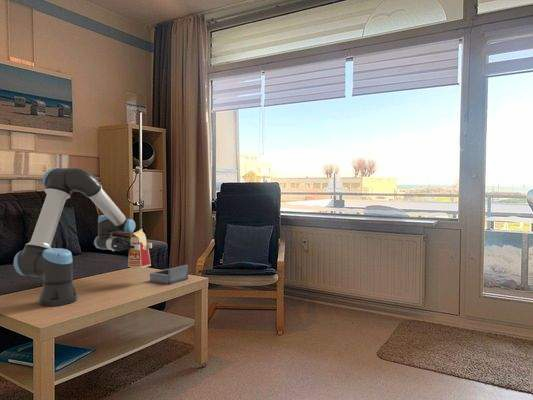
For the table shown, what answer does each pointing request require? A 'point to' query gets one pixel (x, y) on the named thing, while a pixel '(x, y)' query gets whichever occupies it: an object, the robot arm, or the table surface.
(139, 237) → the milk carton
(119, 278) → the table surface
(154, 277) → the rack bay
